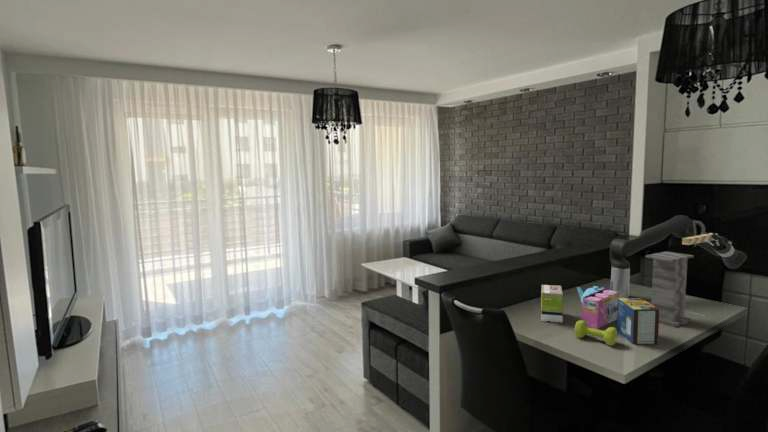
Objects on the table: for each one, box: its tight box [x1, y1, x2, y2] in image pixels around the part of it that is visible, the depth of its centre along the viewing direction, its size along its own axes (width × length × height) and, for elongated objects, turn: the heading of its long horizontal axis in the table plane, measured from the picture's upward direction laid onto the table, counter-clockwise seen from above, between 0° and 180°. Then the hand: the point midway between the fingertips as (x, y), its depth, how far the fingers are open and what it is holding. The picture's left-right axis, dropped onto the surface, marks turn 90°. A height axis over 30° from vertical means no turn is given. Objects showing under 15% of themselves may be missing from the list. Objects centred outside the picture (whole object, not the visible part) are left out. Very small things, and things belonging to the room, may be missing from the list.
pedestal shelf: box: [644, 250, 695, 328], centre depth 204 cm, size 18×14×32 cm
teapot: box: [576, 285, 605, 304], centre depth 228 cm, size 15×15×11 cm
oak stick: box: [681, 232, 719, 246], centre depth 214 cm, size 27×3×3 cm, turn 118°
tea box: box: [540, 284, 564, 323], centre depth 213 cm, size 15×10×15 cm
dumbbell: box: [573, 319, 619, 347], centre depth 184 cm, size 16×8×7 cm, turn 45°
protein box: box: [616, 297, 660, 345], centre depth 185 cm, size 10×15×16 cm
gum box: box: [581, 288, 620, 330], centre depth 206 cm, size 24×8×14 cm, turn 128°
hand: (708, 234), depth 217 cm, fingers closed on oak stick, 3 cm apart
